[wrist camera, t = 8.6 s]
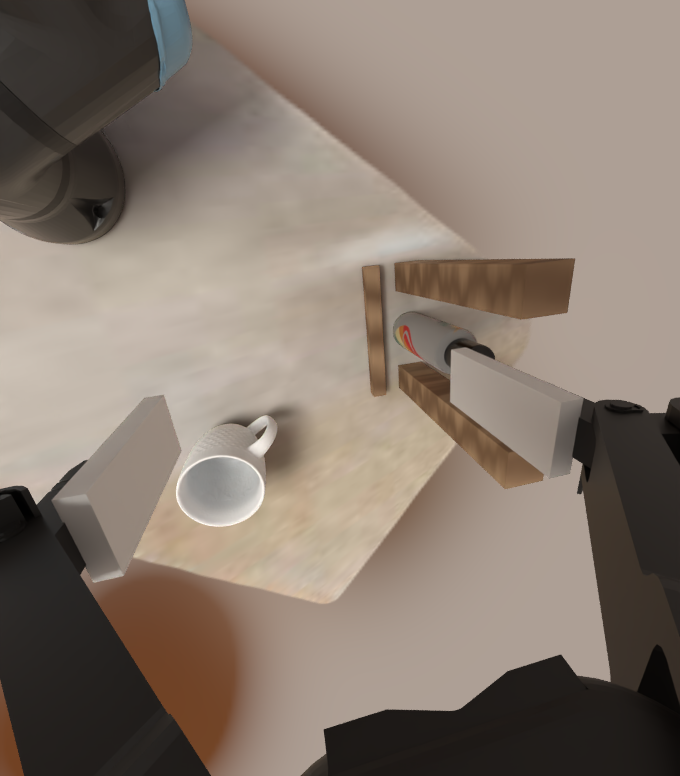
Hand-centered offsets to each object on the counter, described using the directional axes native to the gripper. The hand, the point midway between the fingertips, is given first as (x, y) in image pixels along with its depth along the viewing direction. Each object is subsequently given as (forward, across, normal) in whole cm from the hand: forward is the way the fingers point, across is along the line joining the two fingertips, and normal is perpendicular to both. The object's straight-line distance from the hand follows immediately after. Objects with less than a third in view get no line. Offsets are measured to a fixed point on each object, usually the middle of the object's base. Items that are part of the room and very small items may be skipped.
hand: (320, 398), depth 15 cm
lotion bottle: (+37, +19, -6) cm, 42 cm away
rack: (+37, +17, -6) cm, 41 cm away
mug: (+37, -11, -20) cm, 43 cm away
